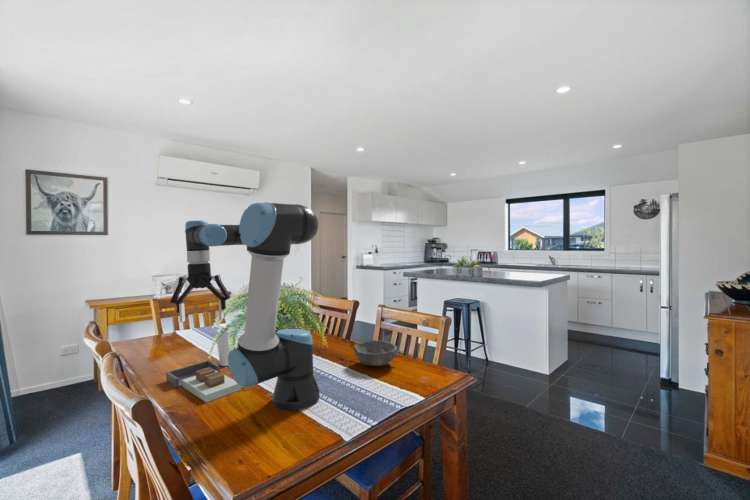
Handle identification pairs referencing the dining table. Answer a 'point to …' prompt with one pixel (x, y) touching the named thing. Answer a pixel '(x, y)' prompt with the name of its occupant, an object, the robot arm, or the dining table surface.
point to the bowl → (375, 352)
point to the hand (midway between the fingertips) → (202, 320)
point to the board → (207, 392)
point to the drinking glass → (223, 348)
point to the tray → (188, 372)
